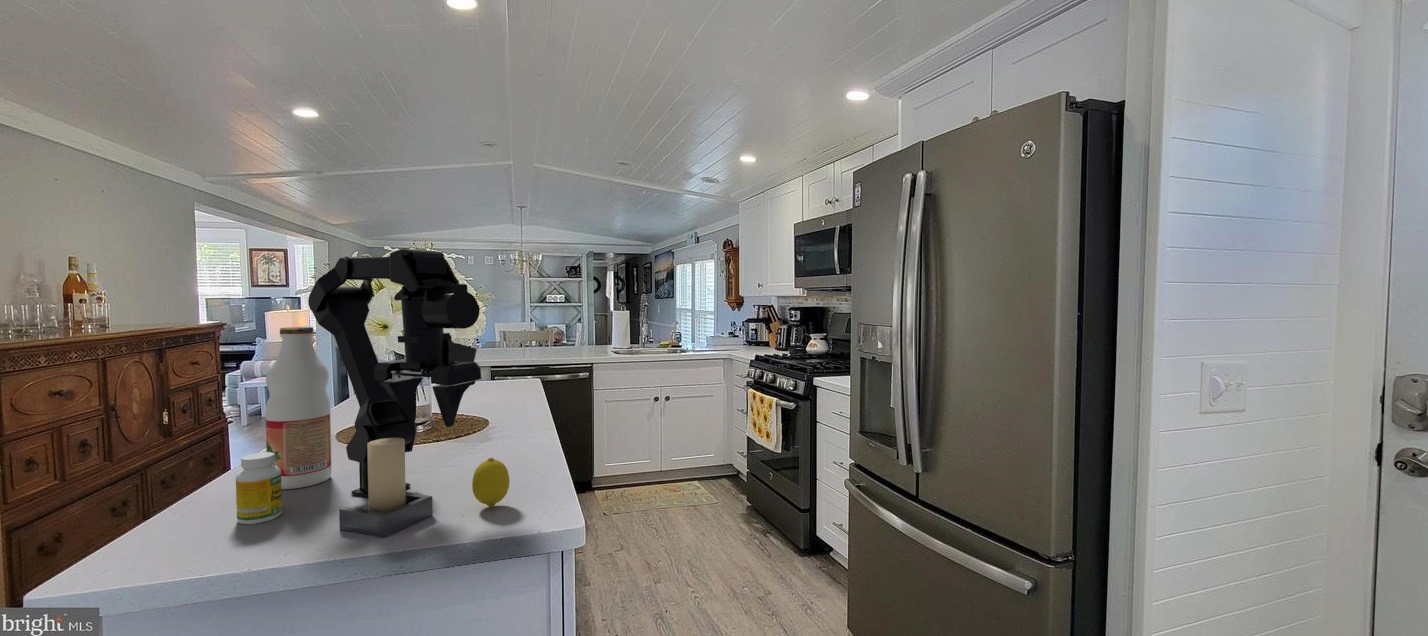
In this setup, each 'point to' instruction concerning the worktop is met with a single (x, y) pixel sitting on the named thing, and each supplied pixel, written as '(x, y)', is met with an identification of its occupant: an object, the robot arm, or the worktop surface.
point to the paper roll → (386, 474)
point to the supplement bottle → (258, 489)
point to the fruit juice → (299, 411)
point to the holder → (386, 517)
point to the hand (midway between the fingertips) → (430, 424)
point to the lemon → (490, 482)
